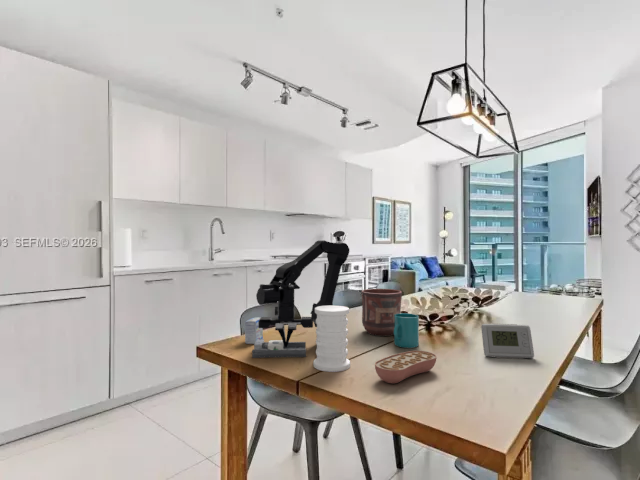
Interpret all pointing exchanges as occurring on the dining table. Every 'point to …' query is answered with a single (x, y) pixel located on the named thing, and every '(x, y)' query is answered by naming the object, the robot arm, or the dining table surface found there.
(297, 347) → the gauge stand
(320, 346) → the decorative container
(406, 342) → the cup
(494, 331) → the digital thermostat
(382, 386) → the dining table surface
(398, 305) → the pottery
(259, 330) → the medicine box
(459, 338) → the dining table surface
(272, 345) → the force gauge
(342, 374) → the dining table surface
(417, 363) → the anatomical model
